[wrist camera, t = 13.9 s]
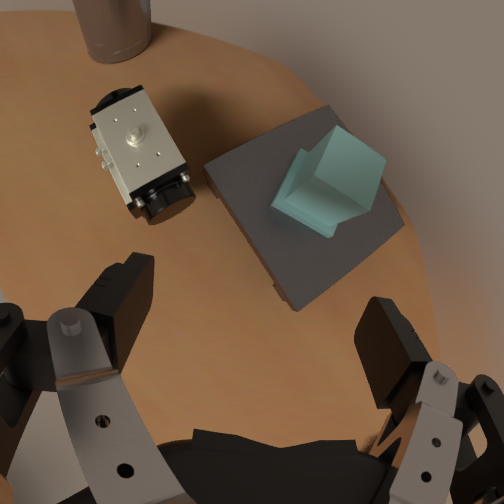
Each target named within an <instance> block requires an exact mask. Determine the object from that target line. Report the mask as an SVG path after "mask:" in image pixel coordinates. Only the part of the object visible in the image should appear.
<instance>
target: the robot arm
mask: <svg viewBox="0 0 504 504" xmlns="http://www.w3.org/2000/svg"><path fill="white" fill-rule="evenodd" d="M73 4H74V7H75V11H76V14H77V17H78V21H79V24H80V27H81V30H82V34H83V37H84V40H85V43H86V46H87V49H88V52H89V54H90V56H91V58H93V59H94V60H95V61H97V62H101V63H117V62H121V61H125V60H127V59H130V58H132V57H134V56H136V55H138V54H139V53H140V52H142V51H143V50H144V49H145V48H146V47H147V46H148V44H149V43H150V40H151V37H152V31H151V10H150V0H73ZM153 281H154V256H151V255H146V254H141V253H137V252H133V253H132V254H131V255H130V256H129V257H128V259H127V260H126V261H125V263H124V264H121V263H115V264H113V265H111V266H109V267H108V268H106V269H105V270H104V271H103V272H102V274H101V275H100V276H99V278H97V280H96V281H95V282H94V284H93V285H92V286H91V287H90V288H89V290H88V291H87V292H86V293H85V295H84V296H83V297H82V298H81V300H80V301H79V302H78V304H77V305H76V306H75V307H70V308H64V309H61V310H58V311H56V312H55V313H53V314H52V315H51V316H50V318H49V319H48V321H37V320H25V319H24V316H23V312H22V310H21V308H20V307H19V306H17V305H16V304H13V303H0V375H1V373H2V372H3V373H2V375H1V376H0V504H14V503H13V502H14V495H13V490H12V487H11V485H10V483H9V482H8V480H7V479H6V476H7V473H8V470H9V467H10V464H11V462H12V459H13V457H14V454H15V451H16V449H17V446H18V444H19V441H20V439H21V437H22V434H23V432H24V429H25V427H26V425H27V422H28V420H29V418H30V416H31V414H32V411H33V409H34V407H35V405H36V402H37V401H38V399H39V396H40V394H41V392H42V391H50V392H57V394H58V397H59V401H60V405H61V409H62V412H63V416H64V419H65V422H66V426H67V429H68V432H69V435H70V438H71V441H72V444H73V447H74V450H75V452H76V455H77V458H78V460H79V463H80V466H81V468H82V471H83V473H84V476H85V478H86V480H87V483H88V485H89V486H88V487H86V488H85V489H83V490H81V491H79V492H78V493H76V494H74V495H72V496H70V497H69V498H67V499H65V500H63V501H61V502H59V503H57V504H445V503H446V499H447V496H448V492H449V490H450V494H451V498H452V501H453V504H504V395H503V393H502V391H501V389H500V388H499V386H498V384H497V383H496V382H495V381H494V380H493V379H492V378H490V377H488V376H486V375H482V374H481V375H477V376H476V377H475V379H474V380H473V381H472V383H471V384H466V383H462V382H458V378H457V376H456V374H455V373H454V371H453V370H452V369H451V368H450V367H448V366H447V365H445V364H443V363H441V362H437V361H433V360H432V359H431V357H430V355H429V353H428V352H427V350H426V348H425V347H424V345H423V343H422V342H421V340H420V339H419V337H418V335H417V333H416V332H414V331H415V330H414V328H413V327H412V325H411V323H410V322H409V321H408V320H407V319H406V318H405V317H404V316H403V315H402V314H401V313H400V311H399V310H398V308H397V307H396V305H395V304H394V302H393V301H392V300H391V299H388V298H381V297H375V296H374V297H372V298H371V299H370V300H369V302H368V304H367V306H366V309H365V311H364V313H363V315H362V317H361V319H360V321H359V323H358V325H357V328H356V330H355V334H354V343H355V346H356V349H357V352H358V354H359V357H360V360H361V363H362V365H363V368H364V371H365V374H366V377H367V380H368V383H369V385H370V388H371V391H372V394H373V397H374V400H375V403H376V406H377V409H389V408H390V409H391V413H390V414H389V415H388V416H387V418H386V420H385V422H384V424H383V426H382V429H381V431H380V433H379V435H378V437H377V439H376V441H375V443H374V445H373V447H372V449H371V451H370V452H369V454H368V453H365V452H361V451H358V450H357V446H356V441H355V440H319V441H315V442H310V443H306V444H301V445H296V446H291V447H285V448H277V447H273V446H270V445H266V444H263V443H260V442H256V441H253V440H250V439H247V438H244V437H241V436H238V435H232V434H224V433H218V432H211V431H205V430H199V429H194V431H193V437H192V439H189V440H177V441H171V442H167V443H163V444H160V445H157V446H156V444H155V443H154V441H153V439H152V437H151V436H150V434H149V432H148V430H147V428H146V426H145V425H144V423H143V421H142V419H141V417H140V415H139V413H138V411H137V409H136V407H135V405H134V403H133V401H132V399H131V397H130V395H129V393H128V391H127V389H126V386H125V384H124V382H123V380H122V378H121V375H120V374H121V372H122V370H123V367H124V365H125V363H126V360H127V358H128V356H129V354H130V351H131V349H132V347H133V345H134V342H135V340H136V338H137V336H138V334H139V331H140V329H141V327H142V325H143V323H144V321H145V319H146V316H147V314H148V312H149V310H150V307H151V303H152V298H153ZM478 423H480V425H481V427H482V430H483V432H484V434H485V437H486V439H487V448H486V450H485V452H484V453H483V454H482V455H481V456H480V457H479V458H478V459H477V456H476V454H475V451H474V449H473V446H472V443H471V441H470V438H469V436H468V433H469V432H470V431H471V430H472V429H473V428H474V427H475V426H476V425H477V424H478Z"/></svg>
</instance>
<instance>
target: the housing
mask: <svg viewBox="0 0 504 504" xmlns="http://www.w3.org/2000/svg"><path fill="white" fill-rule="evenodd" d="M386 161H387V159H385V158H384V157H382V156H381V155H380V154H378V153H377V152H376V151H374V150H373V149H371V148H370V147H368V146H367V145H366V144H364V143H363V142H361V141H360V140H358V139H357V138H356V137H354V136H353V135H351V134H350V133H348V132H347V131H345V130H344V129H342V128H341V127H339V126H337V125H336V126H335V127H334V128H333V129H332V130H331V131H330V132H329V133H328V134H327V135H326V136H325V137H324V138H323V139H322V140H321V141H320V142H319V143H318V144H317V145H316V146H315V147H314V148H313V149H312V150H311V151H310V152H309V153H308V152H307V151H305V150H303V149H302V148H300V150H299V151H298V152H297V154H296V156H295V158H294V160H293V162H292V164H291V166H290V168H289V170H288V172H287V174H286V176H285V178H284V180H283V182H282V184H281V186H280V188H279V190H278V192H277V193H276V195H275V197H274V199H273V201H272V203H271V206H273V207H275V208H277V209H278V210H280V211H282V212H284V213H285V214H287V215H289V216H291V217H292V218H294V219H296V220H298V221H300V222H301V223H303V224H305V225H306V226H308V227H310V228H312V229H313V230H315V231H317V232H319V233H320V234H322V235H324V236H325V237H327V238H330V237H333V234H334V232H335V229H336V227H337V225H338V223H340V222H343V221H345V220H348V219H351V218H353V217H356V216H358V215H361V214H364V213H366V212H369V211H370V210H371V207H372V204H373V201H374V198H375V195H376V192H377V189H378V186H379V183H380V180H381V177H382V174H383V171H384V168H385V164H386Z"/></svg>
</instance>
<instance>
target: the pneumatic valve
mask: <svg viewBox="0 0 504 504" xmlns="http://www.w3.org/2000/svg"><path fill="white" fill-rule="evenodd" d="M90 113H91V115H92V117H93V120H94V122H95V123H93V124H91V125H90V129H91V131H92V133H93V136H94V138H95V140H96V142H97V145H98V148H96V149H95V151H96V153H97V155H98V157H101V156H103V158H104V160H105V161H103V162H102V163H101V165H102V167H103V169H104V170H105V171H107V170H108V169H109V171H110V173H111V175H112V177H113V179H114V181H115V183H116V185H117V187H118V189H119V191H120V193H121V195H122V197H123V199H124V201H125V203H126V205H127V207H128V209H129V211H130V213H131V214H132V215H133V216H134V217H135V219H137V218H139V217H141V216H143V218H145V219H146V221H147V223H148V224H149V225H156V224H159V223H162V222H164V221H166V220H168V219H170V218H172V217H174V216H175V215H177V214H179V213H180V212H182V211H183V210H185V209H186V208H187V207H188V206H190V205H191V204H192V203H193V202H194V200H195V199H196V196H195V194H194V192H193V191H192V189H191V187H190V185H189V181H190V168H189V167H188V165H187V163H186V161H185V160H184V158H183V156H182V154H181V153H180V151H179V149H178V148H177V146H176V144H175V142H174V141H173V139H172V137H171V135H170V134H169V132H168V130H167V128H166V127H165V125H164V123H163V122H162V120H161V118H160V116H159V115H158V113H157V111H156V109H155V108H154V106H153V104H152V102H151V101H150V99H149V97H148V95H147V94H146V92H145V90H144V88H143V87H142V85H139V86H137V87H135V88H133V89H131V88H122V89H118V90H115V91H113V92H111V93H109V94H108V95H106V96H105V97H104V98H103V99H102V100H101V101H100V102H99V103H98V105H97V106H96V108H94V109H92V110H90Z"/></svg>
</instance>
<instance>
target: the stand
mask: <svg viewBox="0 0 504 504" xmlns="http://www.w3.org/2000/svg"><path fill="white" fill-rule="evenodd" d="M336 125H337V126H339V127H341V128H342V129H344V130H345V131H347V129H346V128H345V126H344V125H343V124H342V122H341V121H340V119H339V118H338V117H337V115H336V114H335V113H334V111H333V110H332V109H331V107H330V106H329V105H327V106H324V107H322V108H320V109H317V110H315V111H313V112H310V113H308V114H306V115H303V116H301V117H299V118H297V119H295V120H292V121H290V122H288V123H286V124H284V125H281V126H279V127H277V128H275V129H273V130H271V131H269V132H267V133H265V134H263V135H260V136H258V137H256V138H254V139H252V140H250V141H248V142H246V143H244V144H242V145H240V146H239V147H237V148H235V149H233V150H231V151H229V152H227V153H225V154H223V155H221V156H219V157H218V158H216V159H214V160H212V161H210V162H208V163H207V164H205V165H203V170H202V171H203V173H204V175H205V176H206V178H207V179H208V181H207V184H208V186H209V187H210V189H211V190H212V192H213V194H214V195H215V197H216V198H220V199H221V201H222V202H223V204H224V205H225V207H226V209H227V210H228V212H229V213H230V215H231V216H232V218H233V219H234V221H235V223H236V224H237V226H238V227H239V229H240V230H241V232H242V233H243V235H244V236H245V238H246V240H247V241H248V243H249V244H250V246H251V247H252V249H253V250H254V252H255V254H256V255H257V257H258V258H259V260H260V261H261V263H262V264H263V266H264V268H265V269H266V271H267V272H268V274H269V275H270V277H271V278H272V280H273V282H274V283H275V285H273V287H274V288H275V290H276V291H277V293H278V294H279V296H280V297H281V299H282V301H285V302H287V303H288V305H289V306H290V308H291V310H293V311H296V312H298V311H300V310H301V309H302V308H304V307H305V306H306V305H308V304H309V303H310V302H311V301H313V300H314V299H315V298H317V297H318V296H319V295H321V294H322V293H323V292H325V291H326V290H327V289H328V288H330V287H331V286H332V285H334V284H335V283H336V282H337V281H339V280H340V279H341V278H342V277H344V276H345V275H346V274H347V273H349V272H350V271H351V270H352V269H354V268H355V267H356V266H357V265H358V264H360V263H361V262H362V261H363V260H365V259H366V258H367V257H368V256H369V255H371V254H372V253H373V252H374V251H375V250H377V249H378V248H379V247H380V246H381V245H382V244H384V243H385V242H386V241H387V240H388V239H389V238H391V237H392V236H393V235H394V234H395V233H396V232H398V231H399V230H400V229H401V228H402V227H403V226H404V225H405V223H404V222H403V220H402V218H401V216H400V214H399V212H398V211H397V209H396V207H395V205H394V203H393V202H392V200H391V198H390V196H389V195H388V193H387V191H386V190H385V188H384V186H383V185H382V183H381V181H380V183H379V186H378V189H377V192H376V195H375V198H374V201H373V204H372V207H371V210H370V211H369V212H366V213H364V214H361V215H358V216H356V217H353V218H351V219H348V220H345V221H343V222H340V223H338V225H337V227H336V229H335V232H334V234H333V237H330V238H327V237H325V236H324V235H322V234H320V233H319V232H317V231H315V230H313V229H312V228H310V227H308V226H306V225H305V224H303V223H301V222H300V221H298V220H296V219H294V218H292V217H291V216H289V215H287V214H285V213H284V212H282V211H280V210H278V209H277V208H275V207H273V206H271V203H272V201H273V199H274V197H275V195H276V193H277V192H278V190H279V188H280V186H281V184H282V182H283V180H284V178H285V176H286V174H287V172H288V170H289V168H290V166H291V164H292V162H293V160H294V158H295V156H296V154H297V152H298V151H299V150H300V148H302V149H303V150H305V151H307V152H308V153H309V152H310V151H311V150H312V149H313V148H314V147H315V146H316V145H317V144H318V143H319V142H320V141H321V140H322V139H323V138H324V137H325V136H326V135H327V134H328V133H329V132H330V131H331V130H332V129H333V128H334V127H335V126H336ZM347 132H348V131H347ZM348 133H349V132H348Z"/></svg>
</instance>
